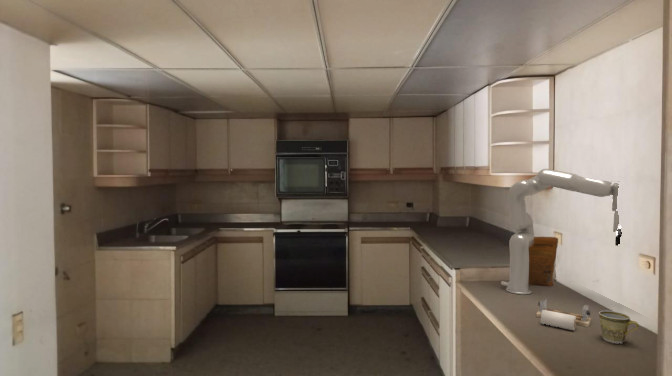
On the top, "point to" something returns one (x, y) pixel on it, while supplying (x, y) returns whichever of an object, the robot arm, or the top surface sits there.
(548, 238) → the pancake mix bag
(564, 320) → the paper roll
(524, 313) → the top surface
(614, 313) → the ceramic cup
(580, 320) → the roll cradle
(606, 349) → the top surface
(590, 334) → the top surface
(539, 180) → the robot arm
